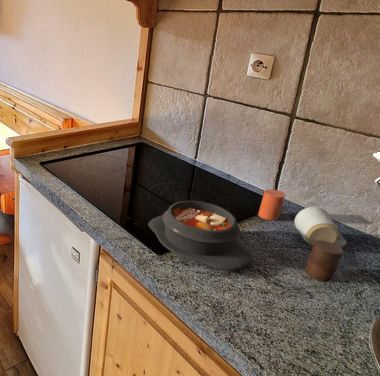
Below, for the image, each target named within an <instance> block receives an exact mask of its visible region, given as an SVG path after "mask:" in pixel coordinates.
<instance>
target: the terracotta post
mask: <svg viewBox="0 0 380 376" xmlns="http://www.w3.org/2000/svg"><path fill="white" fill-rule="evenodd" d="M285 198H286V194H285V192H283V191H280V190H277V189H272V188H267V189H265V190H263V194H262V198H261V202H260V206H259V210H258V213H257V215H258V216H259V218H261V219H264V220H266V221H278V220H279V218H280V214H281V211H282V208H283V206H284V201H285Z"/></svg>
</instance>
